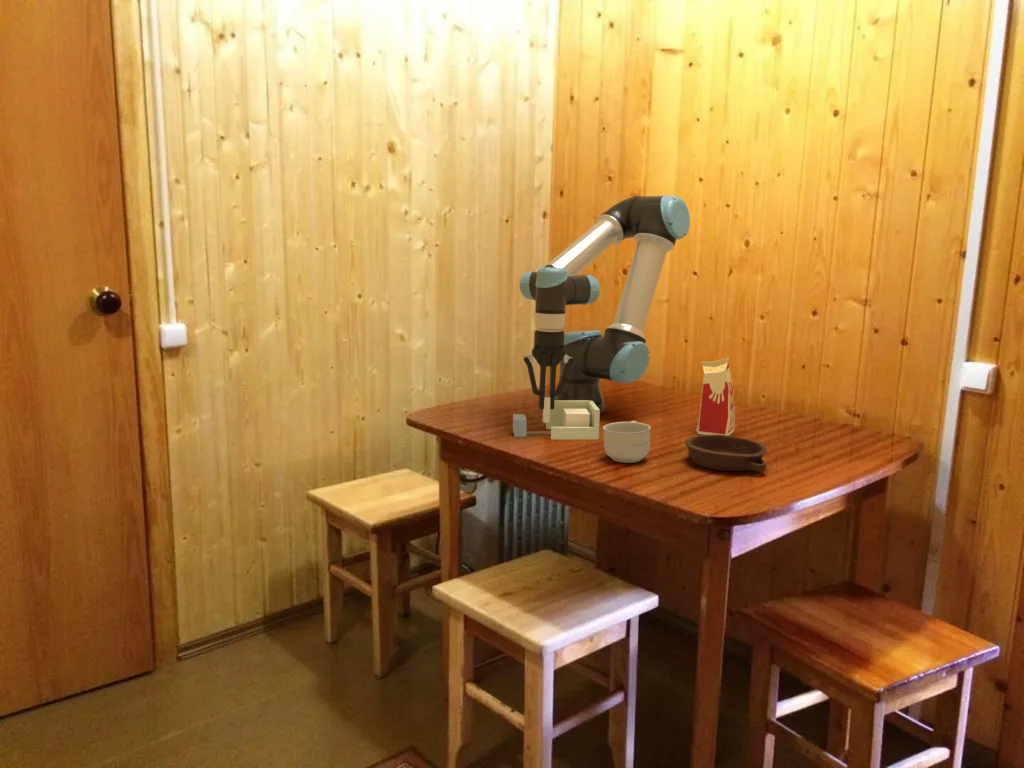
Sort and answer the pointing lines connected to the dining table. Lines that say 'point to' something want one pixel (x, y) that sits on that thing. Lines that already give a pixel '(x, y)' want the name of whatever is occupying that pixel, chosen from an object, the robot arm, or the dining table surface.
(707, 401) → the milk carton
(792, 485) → the dining table surface
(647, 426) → the teacup
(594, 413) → the shelf lane
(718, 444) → the dish
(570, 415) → the tethered block
